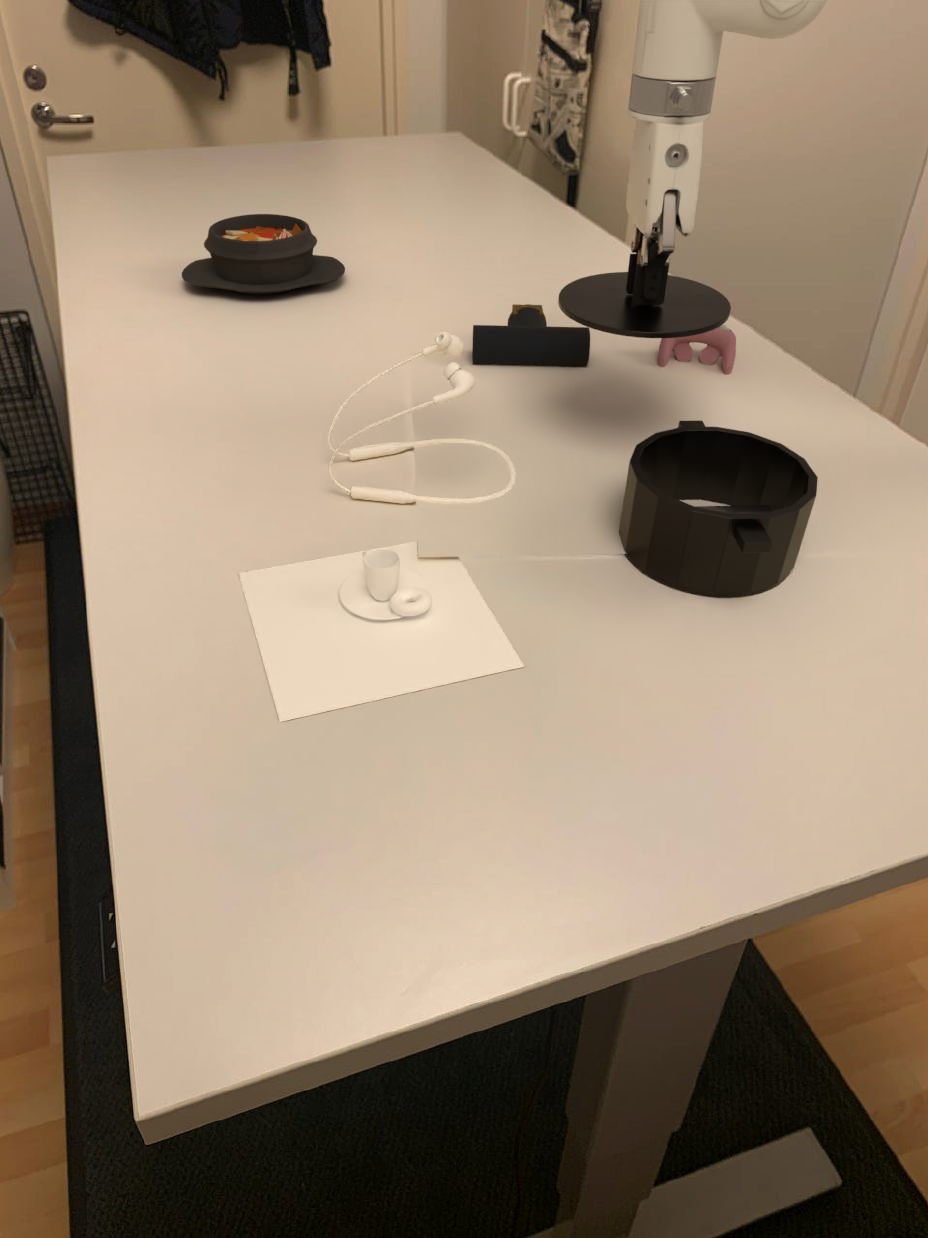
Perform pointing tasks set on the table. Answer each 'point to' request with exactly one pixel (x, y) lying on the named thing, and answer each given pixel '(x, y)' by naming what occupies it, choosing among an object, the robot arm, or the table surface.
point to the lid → (644, 307)
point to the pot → (711, 540)
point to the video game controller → (717, 345)
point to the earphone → (461, 386)
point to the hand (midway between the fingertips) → (644, 296)
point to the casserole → (261, 256)
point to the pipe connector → (530, 341)
